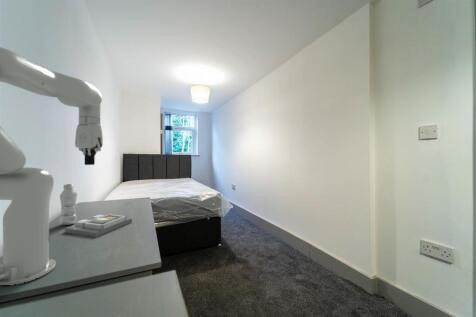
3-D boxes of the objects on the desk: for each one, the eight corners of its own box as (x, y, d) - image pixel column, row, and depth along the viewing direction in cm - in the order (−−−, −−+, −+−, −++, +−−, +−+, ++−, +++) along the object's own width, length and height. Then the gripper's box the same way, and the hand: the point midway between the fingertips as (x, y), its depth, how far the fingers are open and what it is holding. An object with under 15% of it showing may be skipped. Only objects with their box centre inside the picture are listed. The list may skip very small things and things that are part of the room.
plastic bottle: (62, 223, 103) (62, 184, 102) (78, 221, 105) (78, 183, 105) (57, 227, 97) (57, 185, 96) (74, 225, 100) (74, 185, 99)
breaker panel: (96, 237, 87) (96, 227, 87) (64, 232, 91) (64, 223, 91) (131, 222, 106) (131, 214, 106) (104, 218, 111) (104, 211, 110)
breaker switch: (102, 222, 93) (103, 219, 93) (93, 221, 95) (94, 218, 95) (116, 220, 101) (117, 217, 101) (108, 219, 102) (108, 216, 102)
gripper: (67, 121, 85) (67, 164, 85) (95, 120, 81) (95, 165, 82) (84, 123, 92) (84, 163, 92) (111, 123, 88) (111, 164, 89)
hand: (89, 164), depth 87 cm, fingers closed
